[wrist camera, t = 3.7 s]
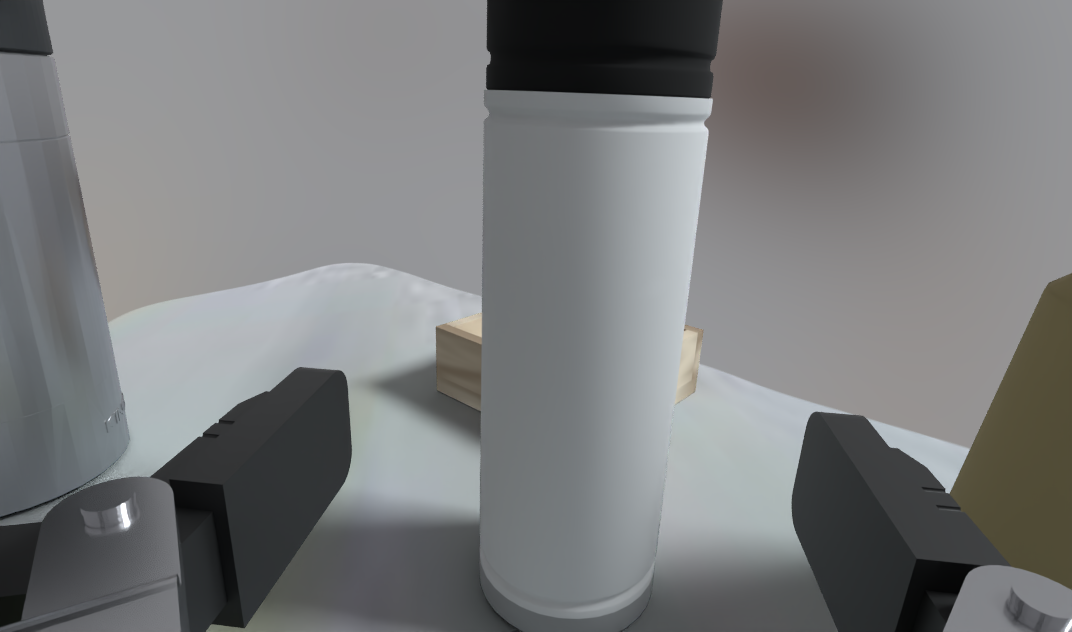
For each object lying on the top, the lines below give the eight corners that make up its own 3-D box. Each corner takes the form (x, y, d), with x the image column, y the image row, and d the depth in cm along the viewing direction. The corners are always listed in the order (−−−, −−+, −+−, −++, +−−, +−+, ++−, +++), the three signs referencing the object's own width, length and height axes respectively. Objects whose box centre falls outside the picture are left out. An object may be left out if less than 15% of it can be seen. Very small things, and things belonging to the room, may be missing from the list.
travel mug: (687, 570, 24) (775, -29, 17) (581, 684, 19) (645, -88, 12) (558, 499, 27) (588, -12, 21) (443, 579, 23) (434, -51, 16)
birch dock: (586, 463, 30) (592, 387, 29) (436, 390, 37) (435, 326, 36) (695, 391, 38) (703, 329, 37) (555, 342, 45) (558, 288, 43)
